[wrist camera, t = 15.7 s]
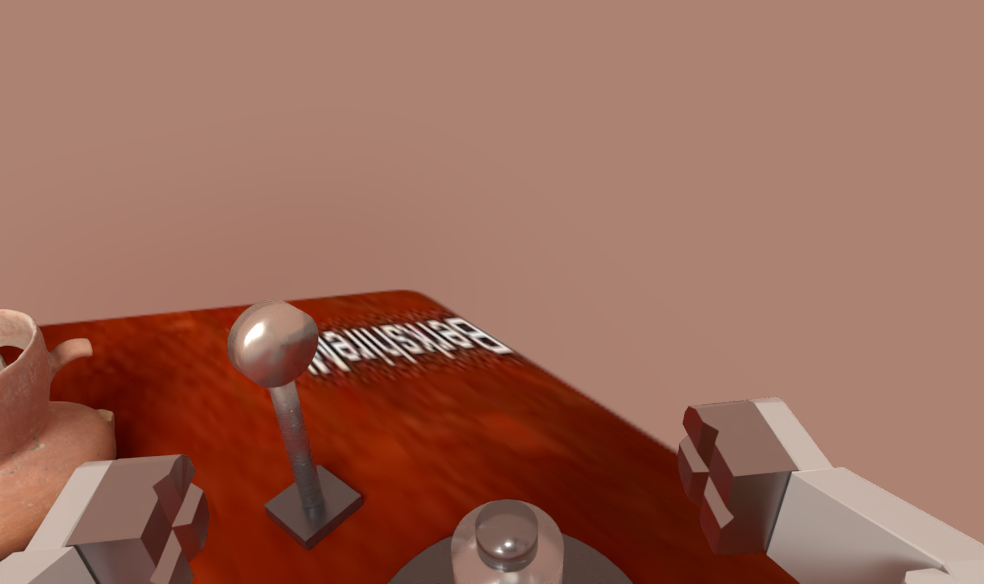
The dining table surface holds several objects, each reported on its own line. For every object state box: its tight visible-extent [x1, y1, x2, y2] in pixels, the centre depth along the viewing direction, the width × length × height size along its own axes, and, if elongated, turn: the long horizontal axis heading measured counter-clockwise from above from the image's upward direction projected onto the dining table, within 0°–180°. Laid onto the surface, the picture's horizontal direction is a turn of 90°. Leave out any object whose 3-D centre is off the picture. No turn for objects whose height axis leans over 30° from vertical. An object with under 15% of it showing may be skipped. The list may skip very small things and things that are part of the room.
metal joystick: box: [227, 299, 363, 550], centre depth 42 cm, size 5×5×18 cm
